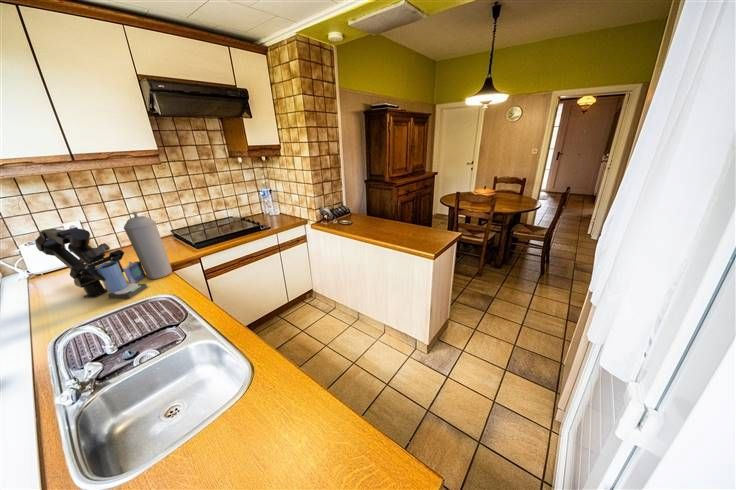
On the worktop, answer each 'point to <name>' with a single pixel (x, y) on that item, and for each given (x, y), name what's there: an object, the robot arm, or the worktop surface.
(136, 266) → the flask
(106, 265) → the blue cup
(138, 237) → the canister
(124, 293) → the scale
